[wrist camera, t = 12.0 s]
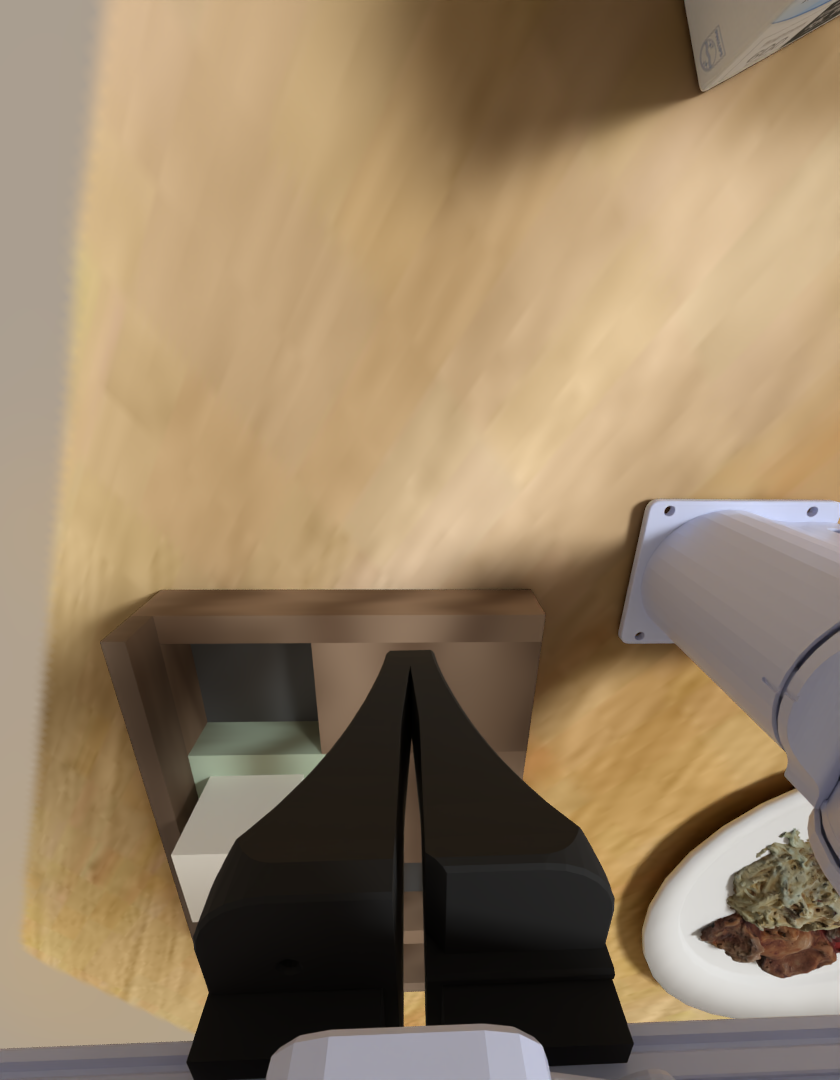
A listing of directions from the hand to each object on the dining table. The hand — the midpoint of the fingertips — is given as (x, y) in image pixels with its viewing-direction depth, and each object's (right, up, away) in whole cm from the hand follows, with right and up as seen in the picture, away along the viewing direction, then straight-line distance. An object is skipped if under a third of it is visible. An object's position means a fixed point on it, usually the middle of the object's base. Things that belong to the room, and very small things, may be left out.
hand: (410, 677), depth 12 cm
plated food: (+32, -23, +20) cm, 44 cm away
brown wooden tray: (-4, -11, +14) cm, 18 cm away
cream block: (-9, -11, +11) cm, 18 cm away
